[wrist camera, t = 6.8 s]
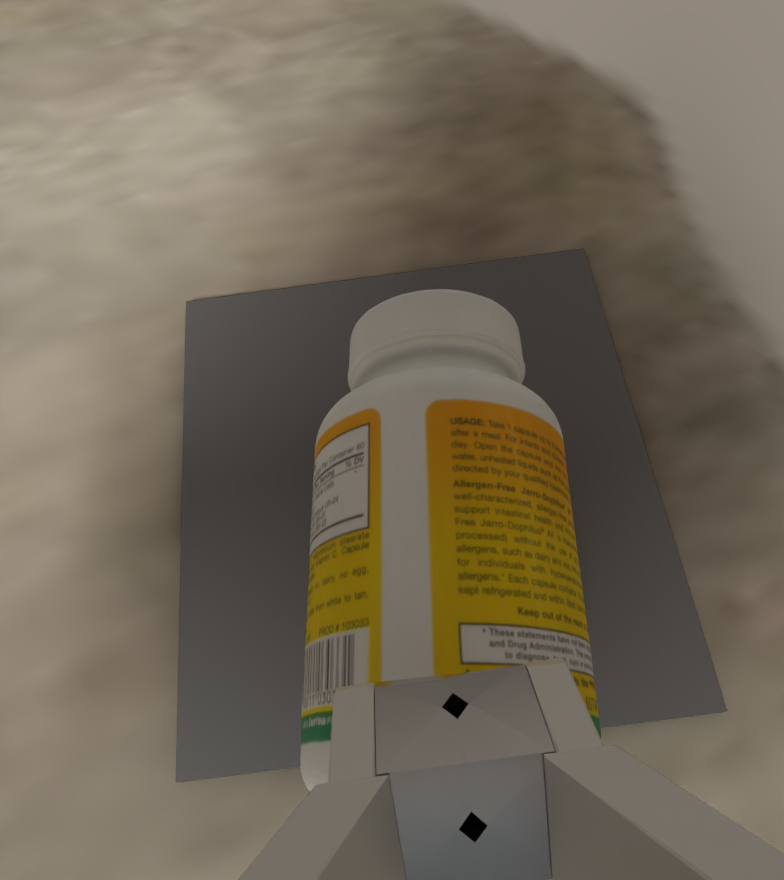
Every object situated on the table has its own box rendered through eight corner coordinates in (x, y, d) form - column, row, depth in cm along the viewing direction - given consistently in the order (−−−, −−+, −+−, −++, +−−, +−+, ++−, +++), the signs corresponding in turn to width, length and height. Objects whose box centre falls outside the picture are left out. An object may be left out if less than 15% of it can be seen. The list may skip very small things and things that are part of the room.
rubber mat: (180, 782, 15) (175, 782, 15) (189, 307, 21) (186, 301, 21) (721, 711, 15) (727, 711, 15) (582, 255, 21) (584, 248, 21)
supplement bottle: (241, 800, 11) (277, 297, 15) (364, 793, 15) (364, 410, 19) (603, 797, 9) (528, 238, 13) (619, 790, 14) (559, 375, 18)
